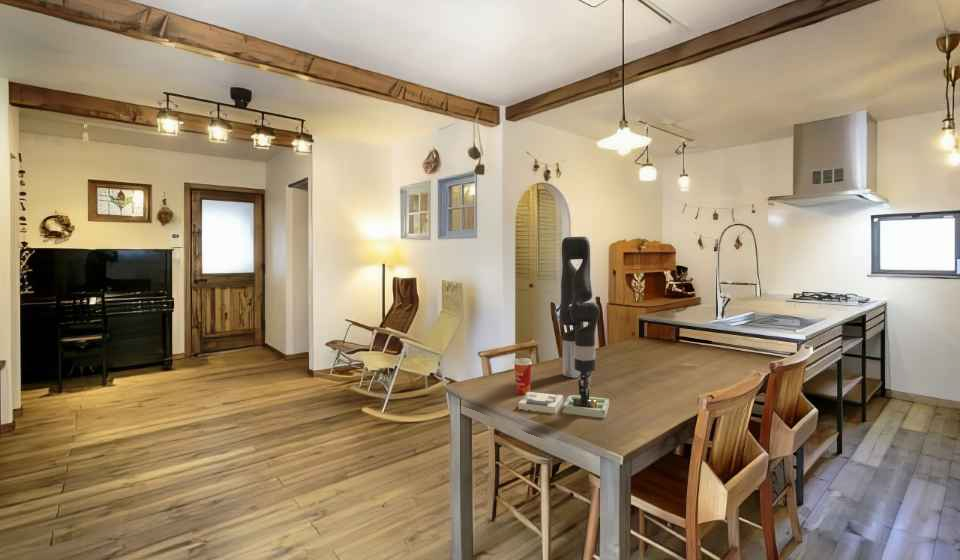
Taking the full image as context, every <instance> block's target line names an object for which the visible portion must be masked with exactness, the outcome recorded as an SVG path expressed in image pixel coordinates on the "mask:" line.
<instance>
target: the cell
mask: <svg viewBox="0 0 960 560" xmlns="http://www.w3.org/2000/svg"><path fill="white" fill-rule="evenodd" d="M573 406H577V407H586V408H595V409H596V407H598V403H597V401H596V400H587V405H586V406H585V405H581V399H576V398H574V400H573Z"/></svg>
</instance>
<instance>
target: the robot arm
mask: <svg viewBox="0 0 960 560" xmlns="http://www.w3.org/2000/svg"><path fill="white" fill-rule="evenodd" d="M590 244H591V242H590V241H589V238H588V237H587V236H568V237H564V238H563V239H562V242H561V265H562V266H561V267H562V268H561V277H560V278H561V281H560V283H561V284H560V304H559V312H558V314H559V316H558V318H559V322H560V324H561V325H563V326H575V327H574V328H573V329H571V330H568V331H566V332H563V334H562V376H563V375H564V376H563V377H565V376H566V377H565V378H569V377H571V379H572V378H573V379H578V381H577V382H578V394H579V395H578V396H581V405H585V406H586V405H587V400H589V397H590V391H591V387H592V384H591V383H592V372H595V370H596V365H597V364H596V362H597V361H596V346H595V345H596V342H595V341H596V340H595V337H596V335H595V334H596V328H597V324H598V321H599V319H600V314H601V309H600V306H599V304H597V303H596V302H589V301H591V299H592V298H593V291H592V290H593V289H592V283H591V245H590ZM571 260H573V261H574V260H581V264H580V266H579V267H578V269H577V268H576V267H575V266H574V265H573V263H572V261H571ZM583 323H588V324H587V325H586V326H584V327H583ZM578 377H579V378H578Z"/></svg>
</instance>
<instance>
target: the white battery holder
mask: <svg viewBox="0 0 960 560" xmlns="http://www.w3.org/2000/svg"><path fill="white" fill-rule="evenodd" d="M563 402H564V395H563V394H554V393H553V394H551V393H542V392H533V391H530V392H527V393H526V394H525V395H524V396H523V397H522V398H521V400H520V401H519V402H518V410H520V409H523V410H522V411H528V410H531V411H530V412H537V411H539V412H538V413H546V412H547V414H554V413H555V414H556V413H557V412H558V410H559V409H560V407H561V406H562V404H563Z"/></svg>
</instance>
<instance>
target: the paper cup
mask: <svg viewBox="0 0 960 560" xmlns="http://www.w3.org/2000/svg"><path fill="white" fill-rule="evenodd" d="M513 364H514V376H515V389H516V394H518V393H519V395H522V394H526V393H527V392H531V382H532V381H531V379H532V378H531V377H532V376H531V375H532V364H533V361H532V360H531V359H530V358H526V357H518V358H515V359H514V362H513Z"/></svg>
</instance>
